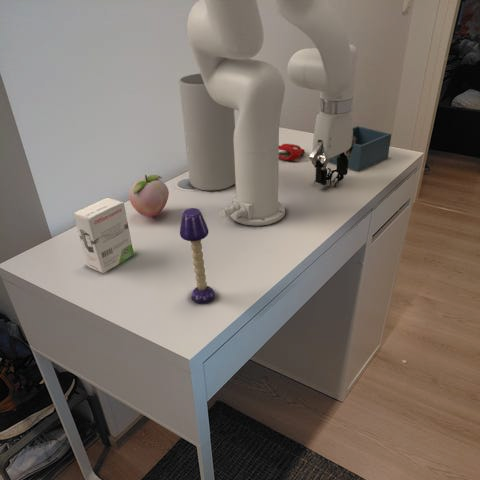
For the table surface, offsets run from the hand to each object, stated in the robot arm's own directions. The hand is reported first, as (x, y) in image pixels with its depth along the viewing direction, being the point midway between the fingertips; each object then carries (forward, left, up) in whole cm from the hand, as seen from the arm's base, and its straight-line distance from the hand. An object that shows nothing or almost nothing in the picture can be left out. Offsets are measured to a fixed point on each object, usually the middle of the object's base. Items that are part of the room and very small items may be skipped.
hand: (331, 178), depth 123 cm
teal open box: (+18, +6, -1) cm, 19 cm away
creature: (-1, 0, -2) cm, 2 cm away
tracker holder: (+7, +23, -2) cm, 24 cm away
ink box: (-60, +7, -2) cm, 61 cm away
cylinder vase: (-20, +23, -2) cm, 31 cm away
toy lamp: (-55, -16, -2) cm, 57 cm away
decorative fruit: (-43, +18, -2) cm, 47 cm away
